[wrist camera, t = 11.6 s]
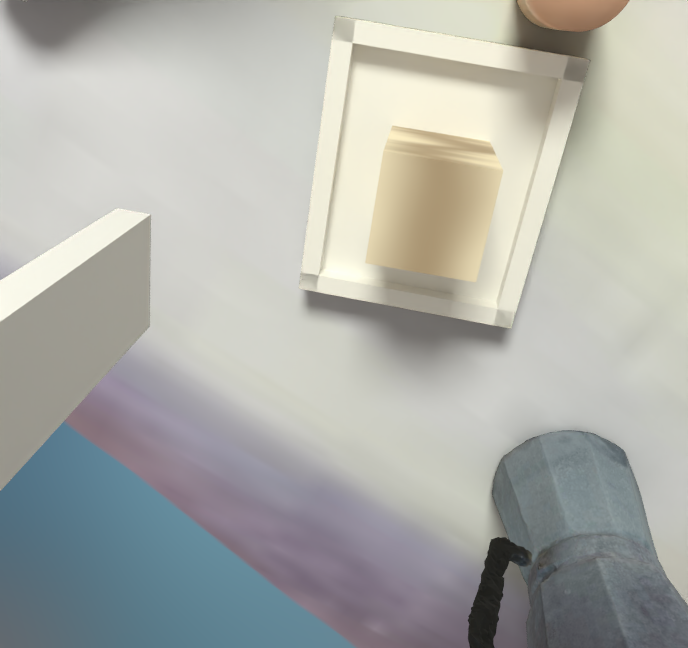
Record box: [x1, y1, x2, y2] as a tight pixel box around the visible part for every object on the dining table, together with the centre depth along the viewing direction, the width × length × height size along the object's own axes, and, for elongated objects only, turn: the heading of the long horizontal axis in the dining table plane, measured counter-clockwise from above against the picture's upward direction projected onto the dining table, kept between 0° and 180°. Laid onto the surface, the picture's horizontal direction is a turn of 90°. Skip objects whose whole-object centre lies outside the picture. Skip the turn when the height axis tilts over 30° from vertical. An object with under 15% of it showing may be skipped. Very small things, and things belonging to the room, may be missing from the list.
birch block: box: [365, 126, 503, 282], centre depth 31 cm, size 5×5×7 cm
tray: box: [299, 16, 590, 329], centre depth 35 cm, size 12×14×2 cm
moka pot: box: [468, 430, 688, 648], centre depth 34 cm, size 10×15×20 cm, turn 65°
